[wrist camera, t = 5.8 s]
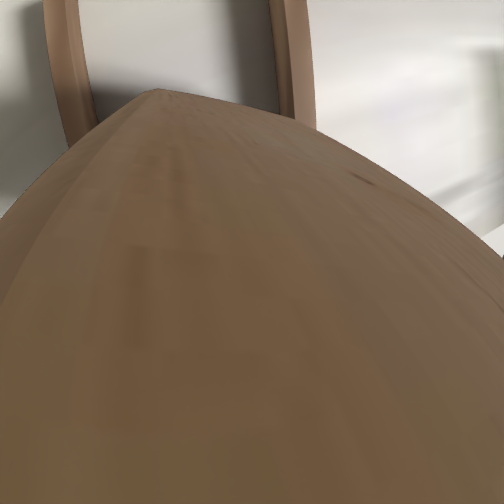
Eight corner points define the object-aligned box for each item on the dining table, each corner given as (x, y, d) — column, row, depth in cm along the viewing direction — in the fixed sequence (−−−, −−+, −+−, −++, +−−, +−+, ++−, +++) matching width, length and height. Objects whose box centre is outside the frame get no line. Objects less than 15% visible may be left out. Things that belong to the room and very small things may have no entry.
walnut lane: (283, -37, 13) (312, -59, 9) (303, 266, 30) (324, 300, 26) (58, 3, 11) (29, -11, 7) (143, 304, 27) (143, 345, 23)
